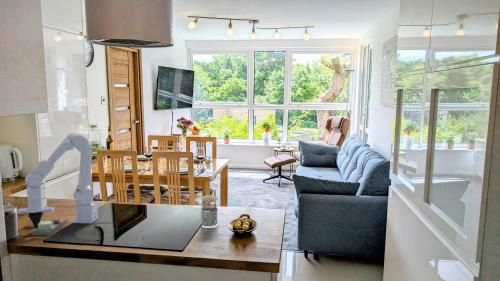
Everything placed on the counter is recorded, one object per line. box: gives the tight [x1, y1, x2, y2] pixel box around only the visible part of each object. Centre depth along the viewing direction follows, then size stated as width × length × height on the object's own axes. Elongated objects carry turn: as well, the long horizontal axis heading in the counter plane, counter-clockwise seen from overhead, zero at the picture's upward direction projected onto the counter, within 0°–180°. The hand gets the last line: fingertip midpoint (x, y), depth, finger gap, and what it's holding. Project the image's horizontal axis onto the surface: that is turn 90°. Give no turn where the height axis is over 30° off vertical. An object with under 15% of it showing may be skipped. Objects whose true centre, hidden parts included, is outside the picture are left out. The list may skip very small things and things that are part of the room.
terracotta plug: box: [26, 216, 44, 228], centre depth 170 cm, size 5×4×4 cm
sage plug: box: [37, 220, 54, 231], centre depth 163 cm, size 5×4×4 cm
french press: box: [200, 175, 219, 226], centre depth 171 cm, size 10×12×25 cm
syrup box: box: [41, 180, 48, 207], centre depth 194 cm, size 6×6×14 cm
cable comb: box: [31, 218, 68, 236], centre depth 166 cm, size 8×16×2 cm, turn 179°
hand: (36, 227), depth 162 cm, fingers closed
